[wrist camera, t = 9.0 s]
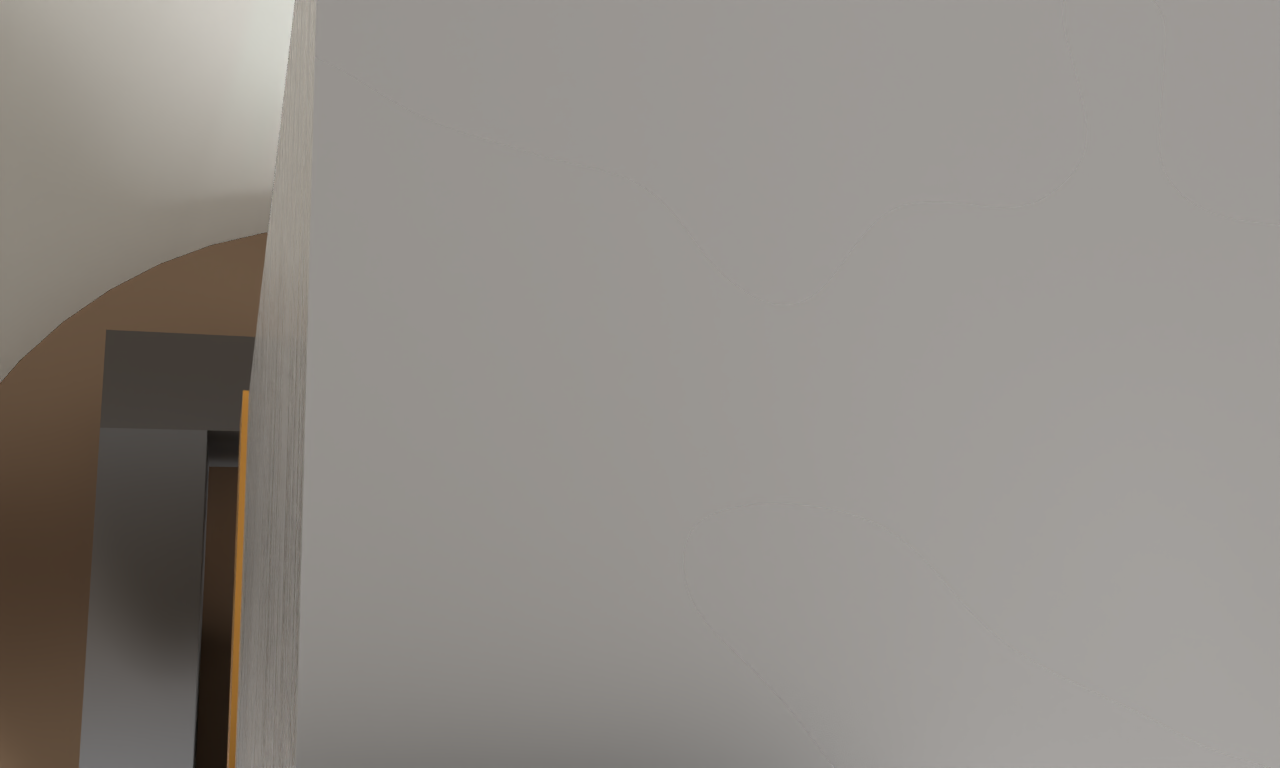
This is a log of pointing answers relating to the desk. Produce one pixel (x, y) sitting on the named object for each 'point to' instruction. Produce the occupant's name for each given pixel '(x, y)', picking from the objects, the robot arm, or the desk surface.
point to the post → (766, 388)
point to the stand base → (126, 520)
